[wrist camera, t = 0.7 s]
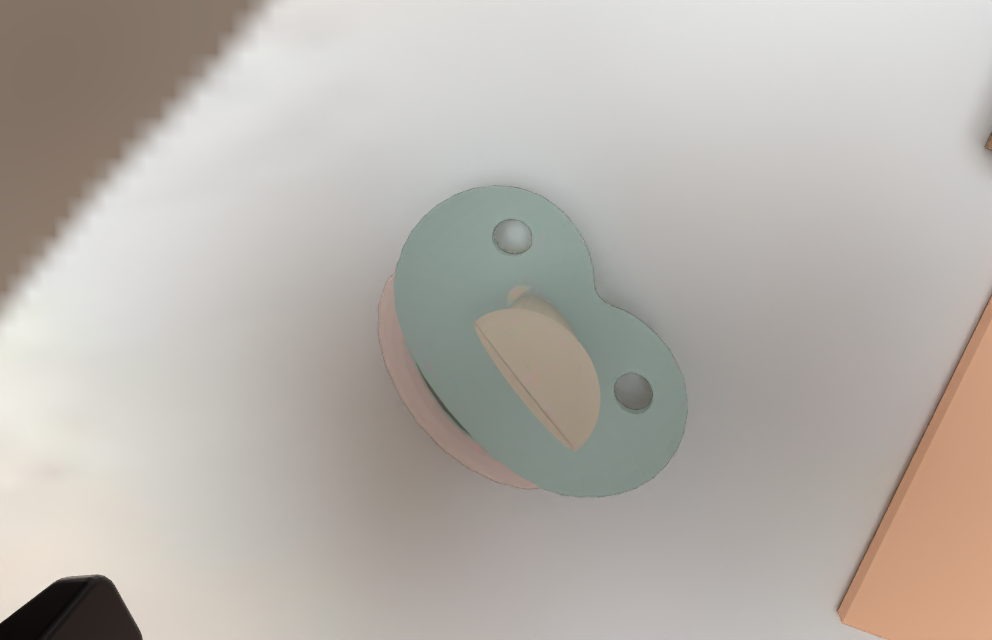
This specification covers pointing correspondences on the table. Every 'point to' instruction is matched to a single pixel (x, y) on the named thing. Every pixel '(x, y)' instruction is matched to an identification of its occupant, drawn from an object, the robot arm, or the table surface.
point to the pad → (937, 522)
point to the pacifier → (524, 352)
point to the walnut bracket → (989, 143)
